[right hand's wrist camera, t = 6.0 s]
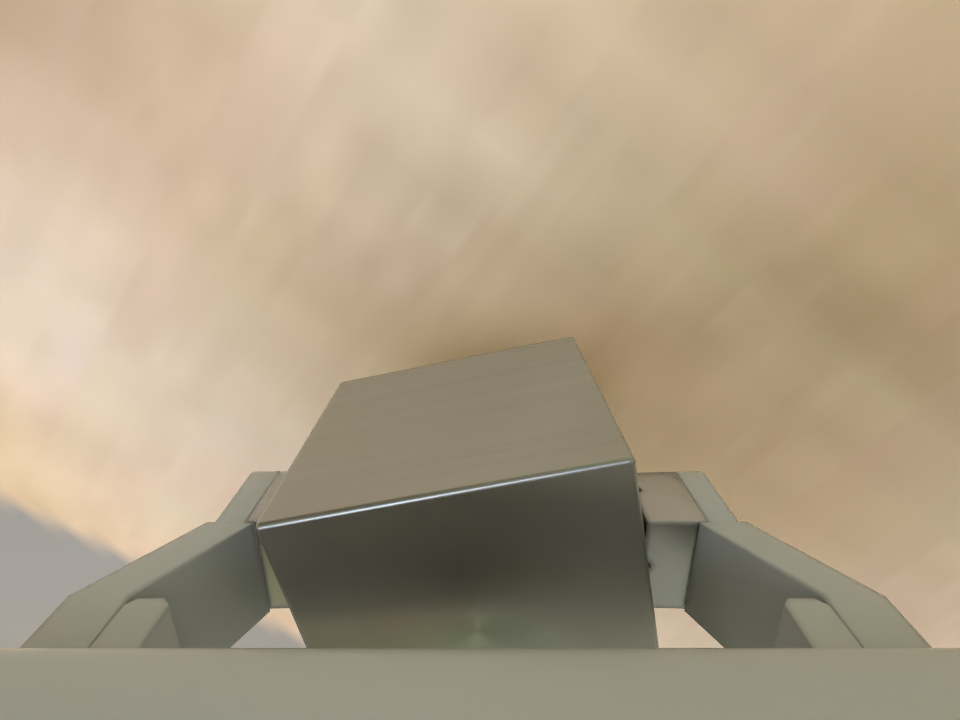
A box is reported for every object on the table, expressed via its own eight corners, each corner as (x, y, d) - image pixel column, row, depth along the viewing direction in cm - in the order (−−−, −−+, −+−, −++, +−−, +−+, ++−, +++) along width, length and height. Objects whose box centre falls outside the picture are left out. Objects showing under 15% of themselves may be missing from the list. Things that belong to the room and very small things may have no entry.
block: (339, 381, 12) (251, 526, 7) (573, 335, 11) (636, 458, 7) (396, 555, 13) (355, 763, 9) (602, 519, 13) (669, 718, 8)
